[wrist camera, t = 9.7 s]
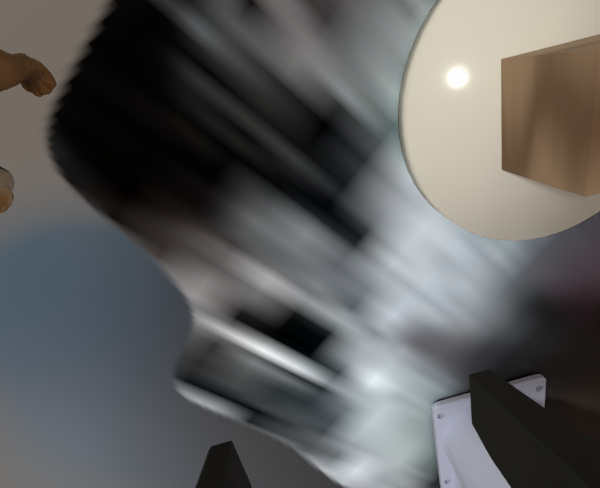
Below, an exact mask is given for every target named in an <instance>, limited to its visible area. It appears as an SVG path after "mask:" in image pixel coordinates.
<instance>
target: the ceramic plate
mask: <svg viewBox="0 0 600 488" xmlns="http://www.w3.org/2000/svg"><path fill="white" fill-rule="evenodd" d="M599 34H600V0H437V2H436V3H435V4H434V6H433V7H432V9H431V10H430V12H429V14H428V15H427V17H426V19H425V21H424V23H423V24H422V26H421V28H420V30H419V32H418V34H417V36H416V39H415V41H414V43H413V46H412V48H411V50H410V53H409V56H408V60H407V63H406V66H405V69H404V73H403V78H402V83H401V88H400V94H399V106H398V128H399V139H400V144H401V150H402V154H403V157H404V161H405V164H406V167H407V170H408V172H409V174H410V176H411V178H412V180H413V182H414V184H415V186H416V187H417V189H418V190H419V191H420V193H421V194H422V196H423V197H424V198H425V199H426V201H427V202H428V203H429V204H430V205H431V206H432V207H433V208H434V209H435V210H437V211H438V212H439V213H441V214H442V215H443V216H444V217H446V218H447V219H449V220H450V221H452V222H453V223H455V224H456V225H458V226H460V227H462V228H464V229H465V230H467V231H469V232H471V233H474V234H477V235H480V236H483V237H486V238H492V239H497V240H509V241H518V240H530V239H535V238H540V237H545V236H549V235H552V234H555V233H558V232H561V231H564V230H566V229H568V228H570V227H572V226H575V225H577V224H579V223H581V222H582V221H584V220H586V219H588V218H589V217H591V216H593V215H594V214H596V213H597V212H599V211H600V194H596V195H592V196H588V197H583V196H580V195H577V194H574V193H571V192H568V191H565V190H562V189H559V188H556V187H553V186H549V185H546V184H543V183H540V182H537V181H534V180H531V179H528V178H525V177H522V176H519V175H516V174H513V173H510V172H507V171H504V170H502V140H501V59H503V58H507V57H511V56H515V55H519V54H523V53H527V52H531V51H535V50H539V49H543V48H547V47H551V46H555V45H559V44H563V43H567V42H571V41H575V40H579V39H583V38H587V37H591V36H595V35H599Z"/></svg>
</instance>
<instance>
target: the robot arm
mask: <svg viewBox="0 0 600 488" xmlns="http://www.w3.org/2000/svg"><path fill="white" fill-rule="evenodd" d="M469 380H470V393H466V394H463V395H459V396H456V397H452V398H448V399H445V400H441V401H438V402H435V403H434V404H433V405H432V408H431V410H432V419H433V428H434V436H435V445H436V454H437V463H438V472H439V481H440V488H600V442H598V441H596V440H595V439H593V438H591V437H590V436H588V435H586V434H585V433H583V432H582V431H580V430H578V429H577V428H575V427H574V426H572V425H570V424H569V423H567V422H566V421H564V420H563V419H561V418H560V417H558V416H557V415H555V414H553V413H552V412H550V411H549V410H547V409H546V408H545V391H546V379H545V378H544V377H543V376H542V375H541V374H535V375H531V376H527V377H524V378H520V379H517V380H513V381H509V382H507V381H505V380H504V379H502V378H501V377H500V376H498V375H497V374H495V373H494V372H492V371H491V370H485V371H482V372H478V373H474V374H471V375H469ZM196 488H251V484H250V482H249V479H248V477H247V475H246V472H245V470H244V468H243V465H242V463H241V461H240V458H239V456H238V454H237V451H236V449H235V447H234V445H233V442H232V441H229V442H226V443H222V444H218V445H214V446H211V448H210V449H209V451H208V454H207V457H206V460H205V463H204V466H203V469H202V471H201V474H200V477H199V479H198V482H197V485H196Z"/></svg>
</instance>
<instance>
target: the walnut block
mask: <svg viewBox="0 0 600 488" xmlns="http://www.w3.org/2000/svg"><path fill="white" fill-rule="evenodd" d="M501 140H502V170H504V171H507V172H510V173H513V174H516V175H519V176H522V177H525V178H528V179H531V180H534V181H537V182H540V183H543V184H546V185H549V186H553V187H556V188H559V189H562V190H565V191H568V192H571V193H574V194H577V195H580V196H583V197H588V196H592V195H596V194H600V34H599V35H595V36H591V37H587V38H583V39H579V40H575V41H571V42H567V43H563V44H559V45H555V46H551V47H547V48H543V49H539V50H535V51H531V52H527V53H523V54H519V55H515V56H511V57H507V58H503V59H501Z"/></svg>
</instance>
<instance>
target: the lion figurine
mask: <svg viewBox="0 0 600 488" xmlns="http://www.w3.org/2000/svg"><path fill="white" fill-rule="evenodd" d="M20 82H21V84H22V87H23V88H24V89H25V90H26V91H28V92H31V93H33V94H34V95H36V96H38V97H41V96H43V95H45V94H50V93H51V92H52V89H53V88H54V87H55V86H56V81H55V80H54V78H53V76H52V74H51V73H50V72H49V71H48V69H46V67H44V65H43V64H42V63H40V62H39V61H37V60H35V59H32V58H30V57H28V56H26V55H25V54H23V53H17V54H9V53H7V52H5V51H3V50H1V49H0V91H3V90H6V89H9V88H11V87H14V86H16V85H18V84H20ZM13 187H14V178H13V176H12V174H11V173H10V172H9V171H8V170H6V169H4V168H2V167H0V213H2V212H5V211H6V210H7V209H8V208H9V207H10V206H11V204H12V201H13V199H14V196H13V193H12V190H13Z"/></svg>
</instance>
